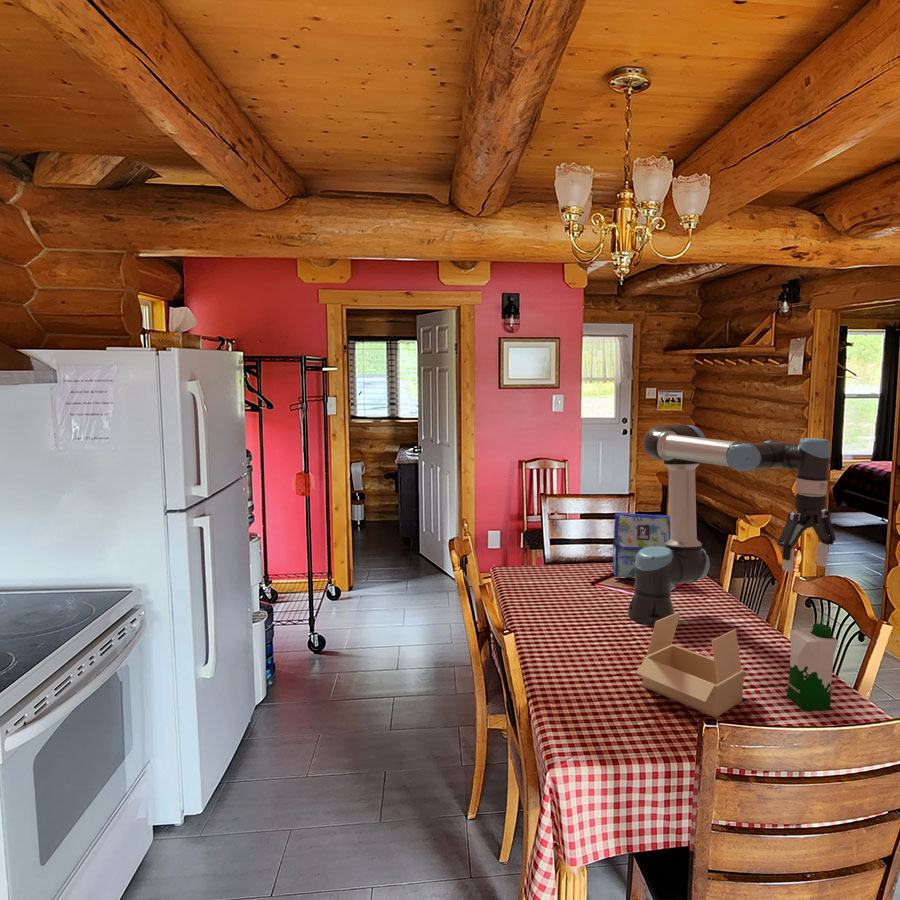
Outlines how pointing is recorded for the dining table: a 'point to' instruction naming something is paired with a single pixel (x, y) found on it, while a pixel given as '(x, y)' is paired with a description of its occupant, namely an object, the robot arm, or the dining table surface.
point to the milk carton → (811, 667)
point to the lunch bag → (636, 539)
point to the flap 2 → (726, 655)
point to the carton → (691, 680)
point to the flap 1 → (663, 633)
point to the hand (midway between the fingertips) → (804, 568)
